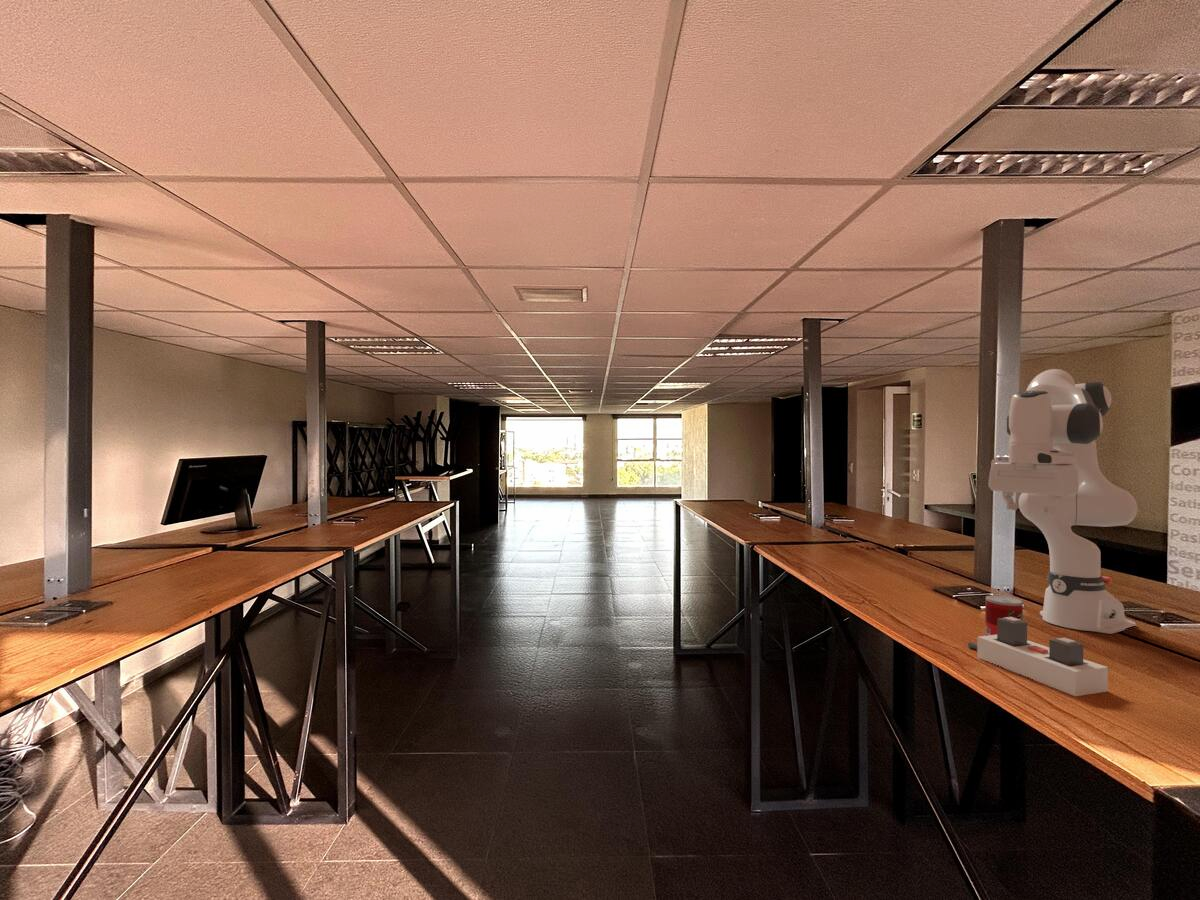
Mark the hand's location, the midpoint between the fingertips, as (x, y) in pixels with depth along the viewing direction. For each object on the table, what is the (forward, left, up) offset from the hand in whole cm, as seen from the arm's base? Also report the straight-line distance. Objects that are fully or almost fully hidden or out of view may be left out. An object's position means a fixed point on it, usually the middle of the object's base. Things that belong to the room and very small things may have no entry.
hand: (1030, 511), depth 142 cm
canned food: (+1, -6, -34) cm, 35 cm away
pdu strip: (+13, +9, -34) cm, 38 cm away
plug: (+13, +6, -32) cm, 35 cm away
